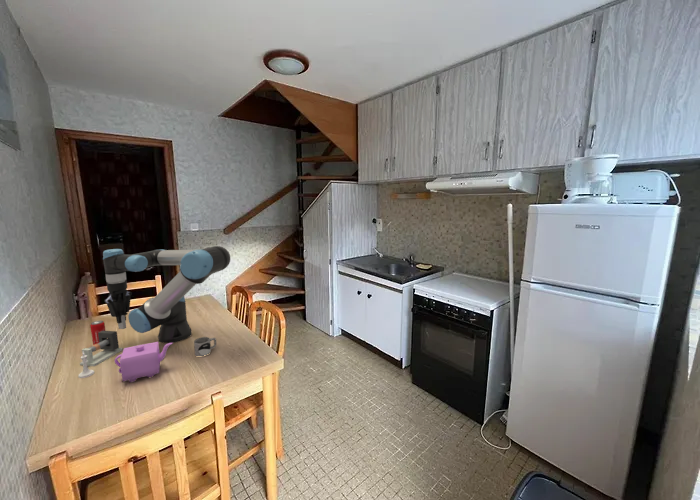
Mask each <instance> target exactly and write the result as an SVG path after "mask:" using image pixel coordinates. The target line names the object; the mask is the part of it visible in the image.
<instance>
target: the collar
mask: <svg viewBox="0 0 700 500" xmlns="http://www.w3.org/2000/svg"><path fill="white" fill-rule="evenodd" d="M98 337H99V343H100V342H102V341H104V340H106V339H108V338H110V344H107V345H105V346H104V347H102V348H100V349H99V350H102V351H103V350H116V349H118V348H120V345H119V338H118V331H116V330H115V331H114V330H105V331H101V332H98Z"/></svg>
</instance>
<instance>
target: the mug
mask: <svg viewBox="0 0 700 500" xmlns="http://www.w3.org/2000/svg"><path fill="white" fill-rule="evenodd" d="M212 341H213V345H211V342H212ZM193 347H194V356H195V355H196V356H204V355H207V354H209V353H210V352H211V353H212V350H213V349H214V348H216V347H217V338H216V337H211V338H210V337H207V336H202V337H199V338H195V339H194V341H193ZM211 353H210V354H211ZM210 354H209V355H210ZM196 356H195V357H196ZM207 356H208V355H207Z"/></svg>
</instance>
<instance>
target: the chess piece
mask: <svg viewBox="0 0 700 500" xmlns="http://www.w3.org/2000/svg"><path fill="white" fill-rule="evenodd" d="M81 353H82V354H83V355H81V356H80V360H81V362H80V363H81V364H83V365H82V367H83V368H82V371H81V372H80V373H78V378H79V379H85V378H89V377H91V376H93V375H94V374H95V369H89V366H87V362H88V360H86V358H87V355H85V354H84V352H82V351H81Z"/></svg>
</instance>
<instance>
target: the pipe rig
mask: <svg viewBox="0 0 700 500" xmlns="http://www.w3.org/2000/svg"><path fill="white" fill-rule="evenodd" d="M107 344H110V338H107V339H106V340H104V341H102V342H100V343H98V344H95V345H93V344H92V345H91V346H89V347H87V348H82V349H81V353H82V352H84V354H85V355H87V358H86V360H88V362H87V367H96V366H98V365H99V364H101V363H102V362H105V361H107V360H108V359H110V358H112V357H113V356H115V355H118V353H120V352H123V350H124V348H123V347H119V348H118V349H116V350H102V351H99V352H97V353H95V352H96V351H98V350H101V349H100V348H102V347H104V346H105V345H107ZM93 353H95V354H94V355H93ZM81 356H83V354H82V355H81ZM79 365H80V366H83V364H81V362H79Z"/></svg>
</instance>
